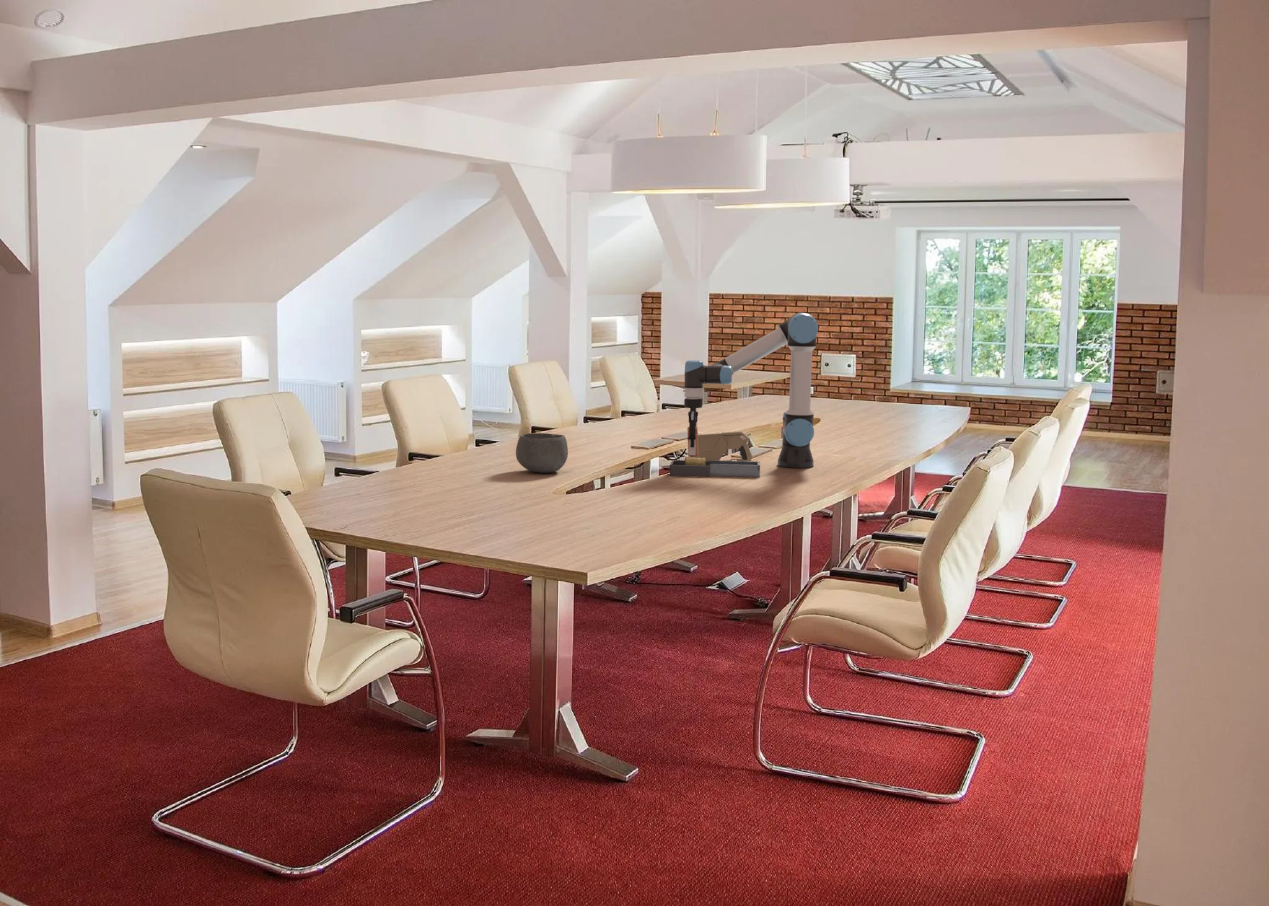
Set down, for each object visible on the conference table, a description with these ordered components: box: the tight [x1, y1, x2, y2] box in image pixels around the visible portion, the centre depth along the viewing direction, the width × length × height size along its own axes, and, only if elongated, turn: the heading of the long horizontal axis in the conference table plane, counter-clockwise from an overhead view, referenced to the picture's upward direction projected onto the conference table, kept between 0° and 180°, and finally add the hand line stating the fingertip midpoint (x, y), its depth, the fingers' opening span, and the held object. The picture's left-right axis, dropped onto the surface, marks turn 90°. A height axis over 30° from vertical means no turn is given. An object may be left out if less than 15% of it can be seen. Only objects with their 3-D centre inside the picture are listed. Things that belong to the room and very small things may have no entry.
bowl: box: [515, 432, 569, 474], centre depth 494 cm, size 21×21×15 cm
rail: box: [710, 460, 761, 478], centre depth 492 cm, size 20×10×5 cm, turn 84°
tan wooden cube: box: [684, 456, 696, 466], centre depth 494 cm, size 4×4×4 cm
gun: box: [697, 430, 753, 461], centre depth 515 cm, size 24×3×15 cm, turn 84°
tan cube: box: [695, 457, 706, 466], centre depth 493 cm, size 4×4×4 cm
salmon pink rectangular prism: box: [686, 426, 699, 458], centre depth 505 cm, size 4×7×16 cm, turn 174°
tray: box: [669, 459, 711, 478], centre depth 494 cm, size 16×14×4 cm
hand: (692, 453), depth 505 cm, fingers closed on salmon pink rectangular prism, 4 cm apart
